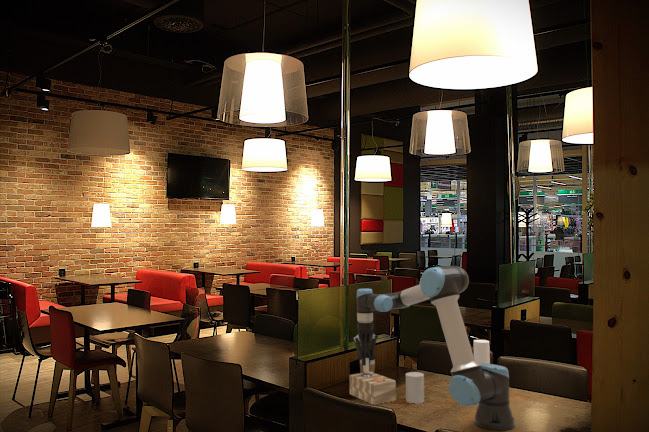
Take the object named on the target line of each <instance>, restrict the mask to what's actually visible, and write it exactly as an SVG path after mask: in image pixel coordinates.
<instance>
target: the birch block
mask: <svg viewBox="0 0 649 432" xmlns="http://www.w3.org/2000/svg"><path fill="white" fill-rule="evenodd" d="M364 373H366V372H364ZM368 373H369V374H371V376H370V377H362V376H361V374H363V373H361V372H359V373H353V374H349V377H348V378H349V379H348V381H349V395H351V396H353V397H355V398H357V399H360V400H362V401H364V402H366V403H369V404H370V405H373V404H374V405H373V406H376V405H377V404H378V405H381V404H380V403H383V404H385V403H384V402H388V403H390V402H389V401H392V402H395V401H394V400H396V401H397V389H396V388H397V383H396V380H395V379H392V378H389V377H387V376H384V375H382V374H378V373H375V372H374V373H373V372H368ZM374 378H383V381H382V382H375V381H374ZM378 405H377V406H378Z"/></svg>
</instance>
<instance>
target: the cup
mask: <svg viewBox="0 0 649 432" xmlns="http://www.w3.org/2000/svg"><path fill="white" fill-rule="evenodd" d="M405 401H407V402H406V403H408V402H409V404H411V403H415V404H414V405H421V404H423V402H424V403H425V374H424V373H423V372H418V371H410V372H406V373H405ZM420 403H421V404H420Z"/></svg>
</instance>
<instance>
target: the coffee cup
mask: <svg viewBox="0 0 649 432" xmlns="http://www.w3.org/2000/svg"><path fill="white" fill-rule="evenodd" d="M358 360H359V368H360V373H364V372H363V365H362V358H361V357H358ZM375 360H376V355H375V353H374V355H373V356H371V358H370V365H369V372H373V373H375V366H376V362H375Z"/></svg>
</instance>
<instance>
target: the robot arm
mask: <svg viewBox="0 0 649 432" xmlns="http://www.w3.org/2000/svg"><path fill="white" fill-rule="evenodd" d="M469 283H470V279H469V275H468V273H467V271H466V270H465V269H464V268H462V267H461V266H457V265H449V266H448V265H447V266H445V265H444V266H434V267H429V268H427V269H426V270H424V271H423V273H422V275H421V277H420V281H419V284H417V285H414V286H412V287H409V288H406V289H403V290H400V291H398V292H397V291H396V292H392V293H381V294H380V293H379V294H377V293H376V294H375V293H374V292H373V289H372V288H358V289H357V290H356V318H357V319H356V320H357V323H356V324H357V325H356V326H357V327H356V328H357V333H356V336H353V338H352V340H353V342H354V344H355V349H356V354H357V357H358V358H359V357H361V358H362V365H363V372H366V373H368V372H369V365H370V358H371V356H373V355H374V354H375V349H376V343H377V339H378V338H379V337H378V335H377V334H374V322H373V321H374V311H376V312H381V313H383V312H384V313H385V312H386V313H387V312H389V311H391V310H397V309H406V308H409V307H410V306H412V305H415V304H419V303H422V302H425V301H428V300H430V304H431V305H433V306H435V307H436V310H437V311H436V312H437V314H438V318H439V321H440V325H441V329H442V332H443V335H444V338H445V342H446V346H447V349H448V352H449V355H450V359H451V362H452V363H451V365H452V368H451V370H450V373H451V378H450V379H449V383H448V389H449V390H448V391H449V393H450V395H451V397H452V398H453V400H454V401H455V402H457V403H458V404H459V405H460V406H462V407H463V406H464V407H470V406H471V407H472V406H477V408H476V412H475V415H474V424H475V425H476V426H478V427H480V428H482V429H486V430H489V431H491V430H492V431H507V430H512V429H513V428H514V427H515V426H516V425H515V423H516V422H515V418H514V417H513V412H512V409H511V406H510V374H509V370H508V368H507V367H506V366H503V365H498V364H493V363H490V364H478V363H477V362H475V359H474V352H473V350H472V346H471V343H470V340H469V336H468V333H467V330H466V329H467V328H466V327H465V326H466V325H465V323H464V319H463V316H462V313H461V309H460V307H459V303H458V300H459V299H460V294H461V293H463V292H464V291H465V290H466V289H467V288H468V286H469Z"/></svg>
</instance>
